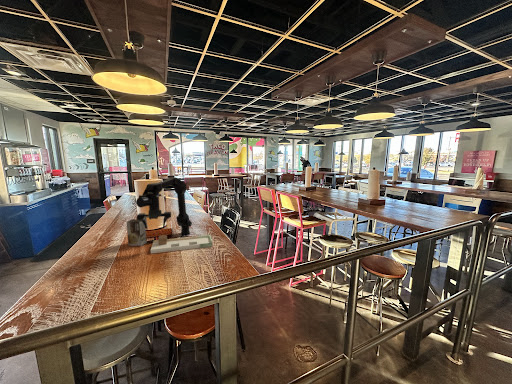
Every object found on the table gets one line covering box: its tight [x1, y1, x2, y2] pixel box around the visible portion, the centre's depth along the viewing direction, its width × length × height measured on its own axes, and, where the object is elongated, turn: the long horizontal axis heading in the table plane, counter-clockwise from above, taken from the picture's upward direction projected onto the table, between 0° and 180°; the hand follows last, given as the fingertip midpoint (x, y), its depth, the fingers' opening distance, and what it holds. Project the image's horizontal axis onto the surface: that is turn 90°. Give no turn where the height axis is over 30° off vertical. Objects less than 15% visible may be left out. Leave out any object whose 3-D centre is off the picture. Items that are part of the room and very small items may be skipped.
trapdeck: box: [150, 234, 213, 255], centre depth 135 cm, size 12×36×4 cm, turn 109°
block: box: [157, 235, 168, 245], centre depth 133 cm, size 4×4×4 cm
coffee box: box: [126, 218, 148, 247], centre depth 137 cm, size 9×6×16 cm
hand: (155, 229), depth 129 cm, fingers open, 9 cm apart
